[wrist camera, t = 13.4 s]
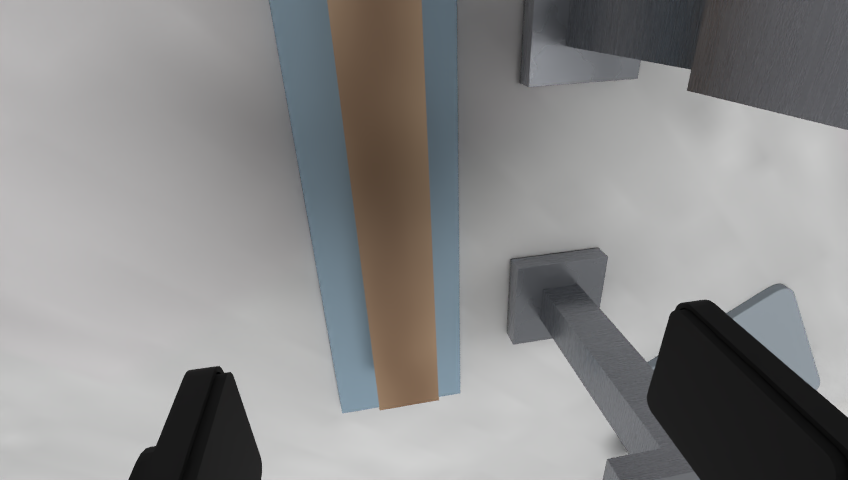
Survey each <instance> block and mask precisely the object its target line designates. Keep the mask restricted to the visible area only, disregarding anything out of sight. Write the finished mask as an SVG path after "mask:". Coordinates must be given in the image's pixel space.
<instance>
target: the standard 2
mask: <svg viewBox="0 0 848 480" xmlns="http://www.w3.org/2000/svg"><path fill="white" fill-rule="evenodd" d="M641 60H643V61H648V62H654V63H659V64H664V65H670V66H675V67H681V68H686V69H691V74H690V79H689V83H688V88H687V91H691V92H695V93H699V94H703V95H707V96H712V97H716V98H720V99H724V100H728V101H732V102H736V103H740V104H744V105H748V106H752V107H756V108H760V109H765V110H769V111H773V112H777V113H781V114H785V115H789V116H793V117H797V118H801V119H805V120H809V121H814V122H818V123H822V124H826V125H830V126H834V127H838V128H842V129H846V130H848V0H525V4H524V23H523V42H522V61H521V80H520V83H521V84H523V85H525V86H528V87H535V86H547V85H560V84H573V83H586V82H599V81H611V80H624V79H637V78H638V73H639V67H640V61H641Z"/></svg>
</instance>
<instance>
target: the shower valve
mask: <svg viewBox="0 0 848 480" xmlns="http://www.w3.org/2000/svg"><path fill="white" fill-rule="evenodd" d="M726 314H727V315H729V316H730V317H731V318H732V319H733V320H734V321H736V322H737V323H738V324H739V325H740V326H741V327H743V328H744V329H745V330H746V331H747V332H748V333H750V334H751V335H752V336H753V337H754V338H755V339H757V340H758V341H759V342H760V343H761V344H762V345H764V346H765V347H766V348H767V349H768V350H769V351H771V352H772V353H773V354H774V355H775V356H776V357H778V358H779V359H780V360H781V361H782V362H783V363H785V364H786V365H787V366H788V367H789V368H790V369H792V370H793V371H794V372H795V373H796V374H797V375H799V376H800V377H801V378H802V379H803V380H804V381H806V382H807V383H808V384H809V385H810V386H811V387H813V388H814V389H815V390H817V389H818V387H819V385H820V378H819V375H818V372H817V368H816V365H815V362H814V358H813V355H812V352H811V348H810V345H809V341H808V338H807V335H806V331H805V328H804V325H803V321H802V318H801V314H800V311H799V308H798V304H797V301H796V298H795V294H794V292H793V291H792V290H791V289H789V288H788V287H786V286H785V285H783V284H776V285H773V286H770V287H768V288H767V289H765V290H763V291H762V292H760V293H759V294H757V295H755V296H754V297H752V298H751V299H749V300H747V301H746V302H744V303H742V304H741V305H739V306H738V307H736V308H734V309H733V310H731V311H730V312H728V313H726ZM657 358H658V356H657V357H655V358H654V359H652V360H651V361H649V362H647V363H648V364H649V365H650V366H651V367H652V369H653V370H654V368H655V365H656V361H657Z"/></svg>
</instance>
